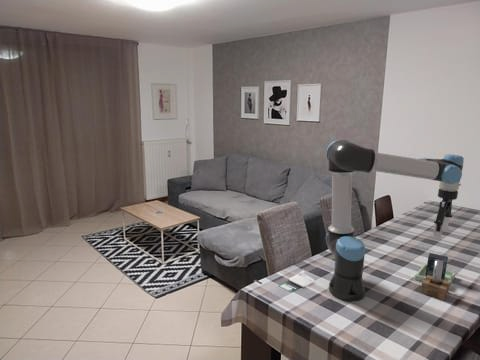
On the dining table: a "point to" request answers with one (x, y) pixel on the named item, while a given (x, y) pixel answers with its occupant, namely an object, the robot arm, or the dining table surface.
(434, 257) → the box
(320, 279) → the dining table surface
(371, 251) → the dining table surface
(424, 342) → the dining table surface
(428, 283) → the tan square frame
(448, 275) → the tray
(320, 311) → the dining table surface
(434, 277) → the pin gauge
